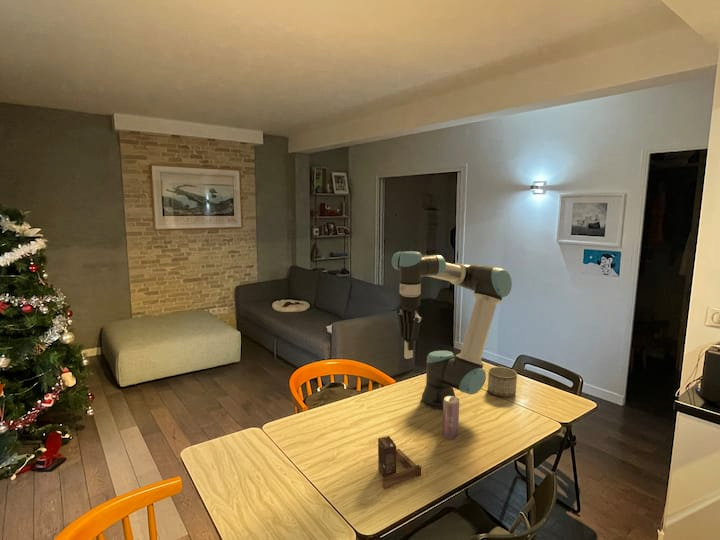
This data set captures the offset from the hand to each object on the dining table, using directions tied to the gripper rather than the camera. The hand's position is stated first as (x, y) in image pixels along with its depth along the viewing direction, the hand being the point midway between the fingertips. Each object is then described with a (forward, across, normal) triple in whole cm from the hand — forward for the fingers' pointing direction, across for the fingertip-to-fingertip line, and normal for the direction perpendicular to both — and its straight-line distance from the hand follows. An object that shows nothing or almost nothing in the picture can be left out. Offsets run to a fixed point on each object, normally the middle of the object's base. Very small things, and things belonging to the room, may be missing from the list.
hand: (408, 357), depth 149 cm
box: (+33, +14, -18) cm, 40 cm away
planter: (+33, -11, +62) cm, 71 cm away
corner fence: (+32, +14, -15) cm, 38 cm away
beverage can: (+33, +6, +16) cm, 37 cm away
